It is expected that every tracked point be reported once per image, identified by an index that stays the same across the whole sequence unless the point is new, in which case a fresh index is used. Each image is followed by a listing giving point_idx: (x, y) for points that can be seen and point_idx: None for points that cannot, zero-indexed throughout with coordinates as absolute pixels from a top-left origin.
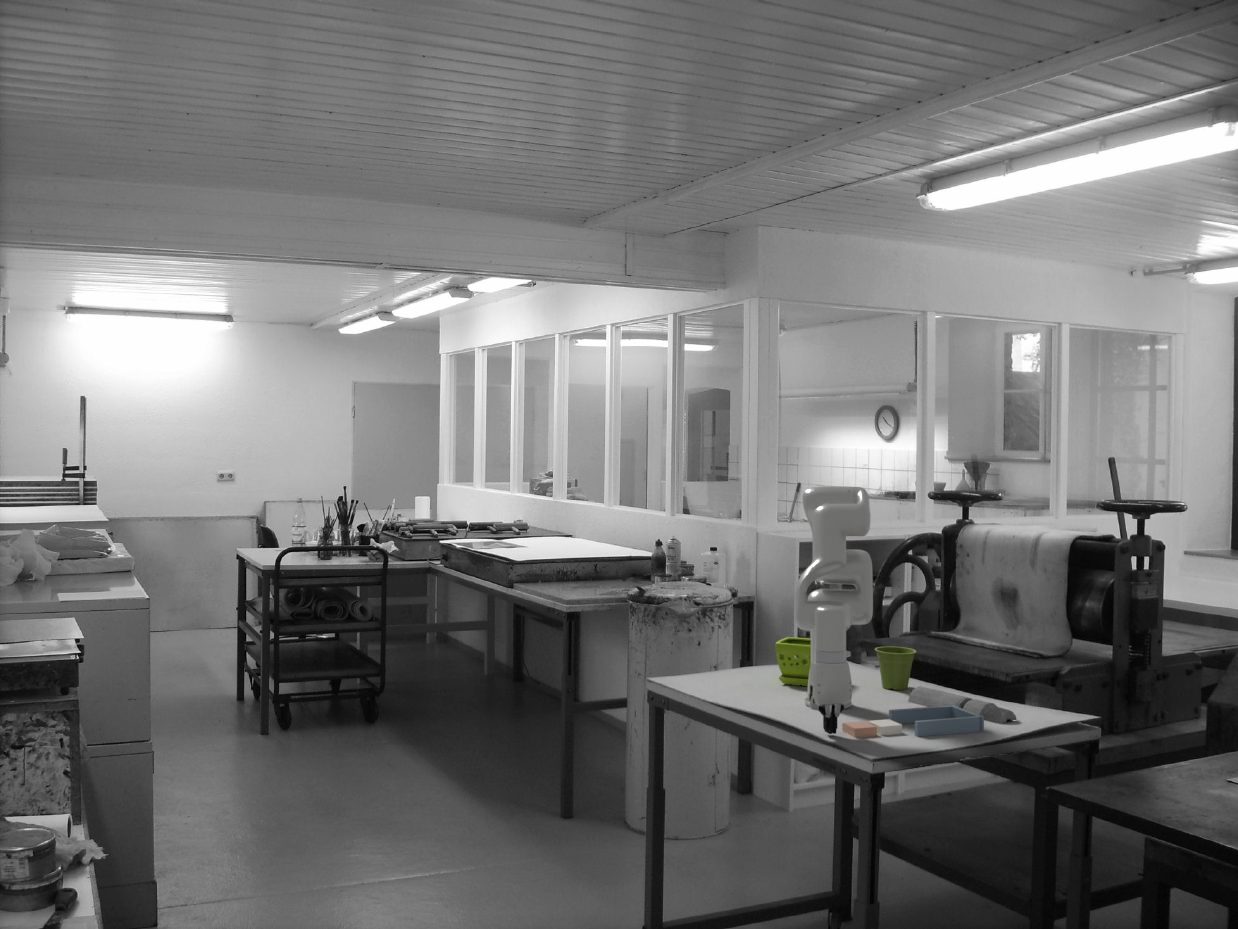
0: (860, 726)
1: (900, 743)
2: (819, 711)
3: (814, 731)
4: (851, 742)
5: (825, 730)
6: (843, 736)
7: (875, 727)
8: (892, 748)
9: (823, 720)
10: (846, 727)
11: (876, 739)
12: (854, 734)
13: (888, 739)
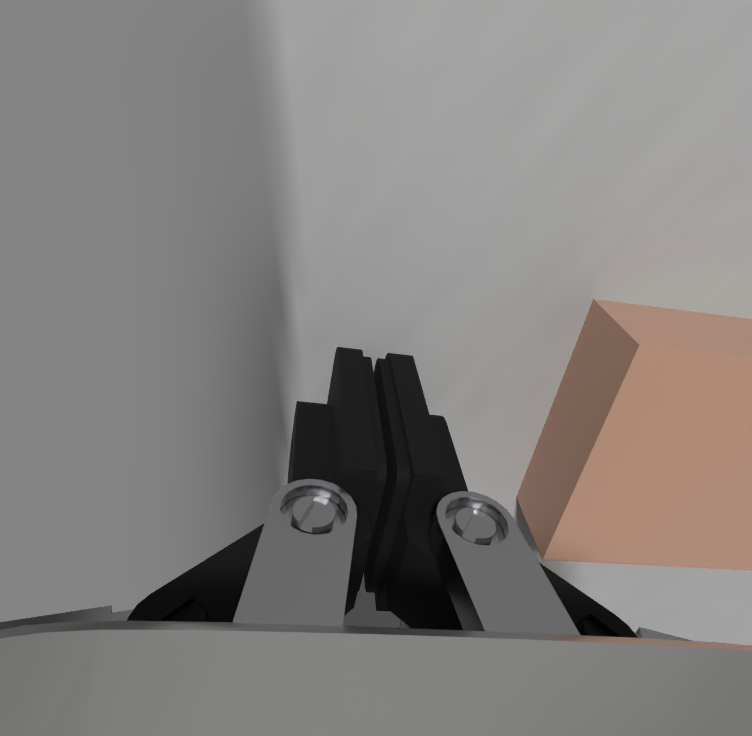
0: (657, 524)
1: None
2: (199, 576)
3: (314, 150)
4: None
5: (333, 374)
6: (463, 439)
7: (746, 565)
8: None
9: (292, 464)
10: (589, 413)
11: (615, 576)
12: (526, 515)
13: (682, 596)
